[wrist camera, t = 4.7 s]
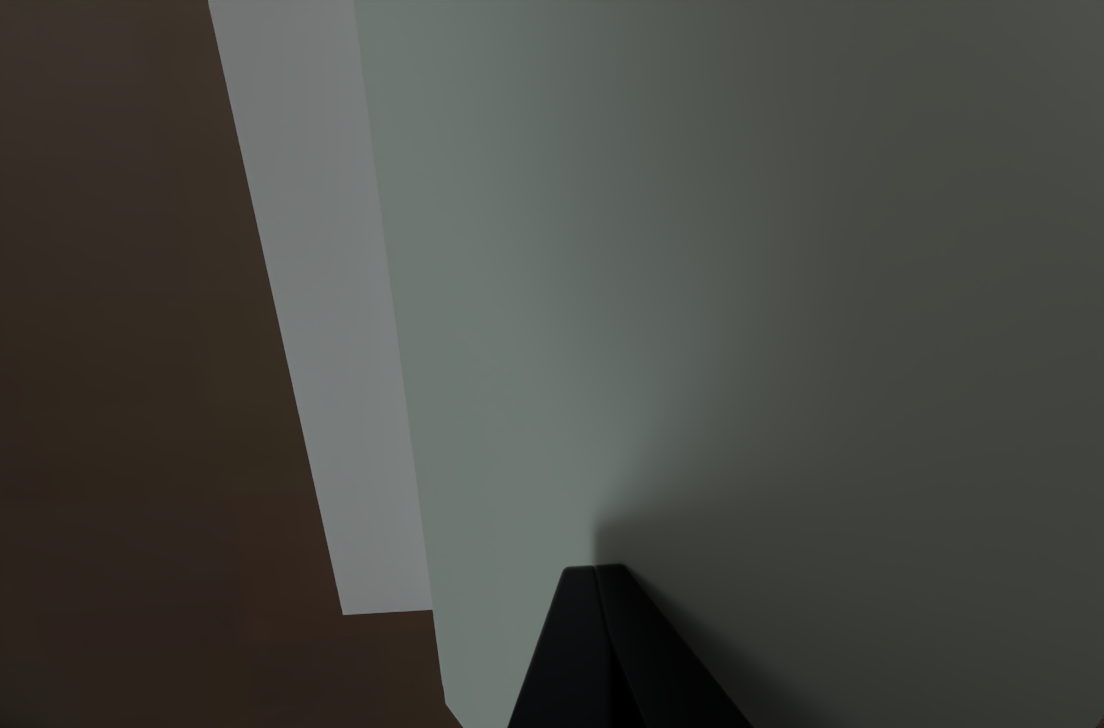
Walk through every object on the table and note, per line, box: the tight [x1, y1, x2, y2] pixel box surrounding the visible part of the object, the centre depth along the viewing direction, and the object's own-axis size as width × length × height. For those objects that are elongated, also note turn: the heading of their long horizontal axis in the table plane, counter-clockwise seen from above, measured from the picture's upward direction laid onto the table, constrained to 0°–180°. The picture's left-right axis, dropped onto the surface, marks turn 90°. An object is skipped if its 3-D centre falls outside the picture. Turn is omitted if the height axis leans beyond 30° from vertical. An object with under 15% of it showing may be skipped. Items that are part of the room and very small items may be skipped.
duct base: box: [208, 0, 443, 685], centre depth 15 cm, size 16×18×4 cm
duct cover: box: [354, 0, 1104, 728], centre depth 9 cm, size 10×17×1 cm
